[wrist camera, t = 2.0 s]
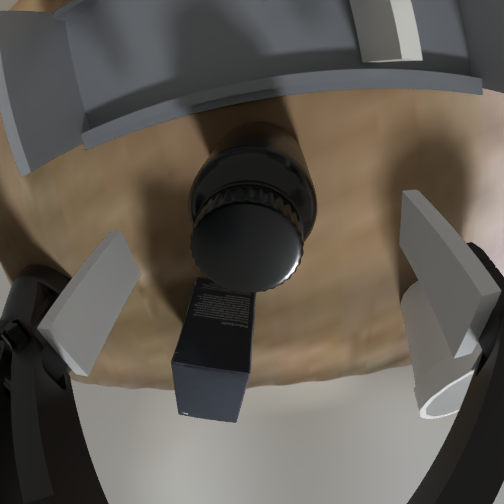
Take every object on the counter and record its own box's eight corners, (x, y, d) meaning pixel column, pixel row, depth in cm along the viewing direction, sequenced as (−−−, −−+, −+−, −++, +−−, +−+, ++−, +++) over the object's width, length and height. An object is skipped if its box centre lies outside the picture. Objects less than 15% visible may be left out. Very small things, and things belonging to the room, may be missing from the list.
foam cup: (423, 331, 32) (453, 418, 21) (372, 315, 30) (398, 419, 20) (471, 278, 27) (521, 364, 16) (423, 251, 25) (482, 355, 14)
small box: (246, 349, 35) (238, 425, 26) (194, 340, 35) (176, 415, 26) (259, 285, 29) (253, 377, 20) (194, 275, 29) (166, 362, 20)
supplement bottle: (202, 135, 21) (138, 198, 11) (290, 110, 19) (310, 146, 9) (231, 212, 24) (203, 318, 14) (312, 192, 23) (340, 293, 13)
